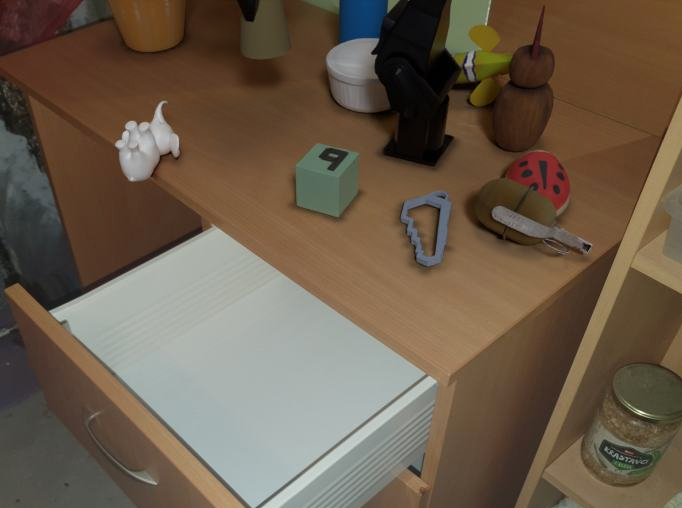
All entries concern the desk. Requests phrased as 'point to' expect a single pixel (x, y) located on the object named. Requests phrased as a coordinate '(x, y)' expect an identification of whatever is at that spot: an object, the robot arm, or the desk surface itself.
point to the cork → (265, 32)
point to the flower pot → (150, 23)
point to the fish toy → (483, 65)
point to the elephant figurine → (146, 146)
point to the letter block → (327, 179)
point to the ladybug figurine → (542, 177)
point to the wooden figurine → (525, 97)
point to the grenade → (522, 215)
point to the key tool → (442, 228)
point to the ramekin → (356, 76)
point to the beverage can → (361, 19)
